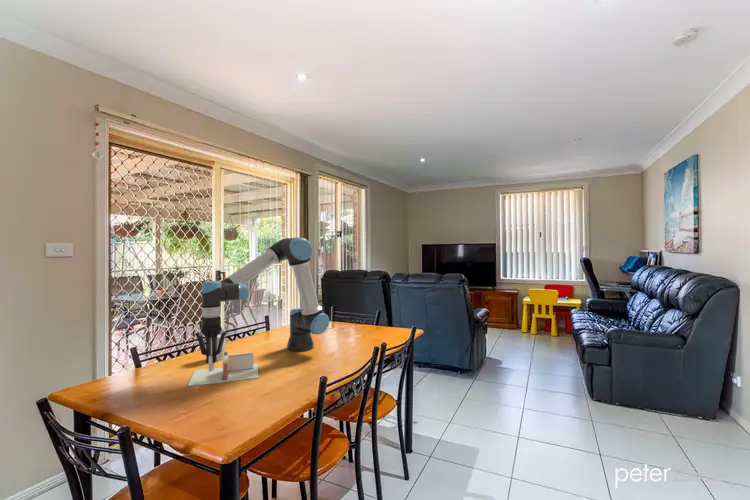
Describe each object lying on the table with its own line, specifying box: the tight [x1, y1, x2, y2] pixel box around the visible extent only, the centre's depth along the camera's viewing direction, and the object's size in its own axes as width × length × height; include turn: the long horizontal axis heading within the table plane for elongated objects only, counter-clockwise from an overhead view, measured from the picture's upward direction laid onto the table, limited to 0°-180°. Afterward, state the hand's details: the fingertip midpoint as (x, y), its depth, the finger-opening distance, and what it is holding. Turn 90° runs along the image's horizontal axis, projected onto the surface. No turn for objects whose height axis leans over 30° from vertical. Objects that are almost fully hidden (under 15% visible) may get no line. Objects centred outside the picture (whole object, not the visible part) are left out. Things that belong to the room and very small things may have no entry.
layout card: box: [187, 363, 259, 388], centre depth 160 cm, size 28×20×1 cm
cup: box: [210, 333, 226, 363], centre depth 183 cm, size 8×8×12 cm
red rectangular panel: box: [222, 355, 228, 379], centre depth 158 cm, size 11×2×7 cm, turn 21°
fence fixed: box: [224, 351, 254, 371], centre depth 166 cm, size 13×2×9 cm, turn 110°
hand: (211, 370), depth 153 cm, fingers closed
